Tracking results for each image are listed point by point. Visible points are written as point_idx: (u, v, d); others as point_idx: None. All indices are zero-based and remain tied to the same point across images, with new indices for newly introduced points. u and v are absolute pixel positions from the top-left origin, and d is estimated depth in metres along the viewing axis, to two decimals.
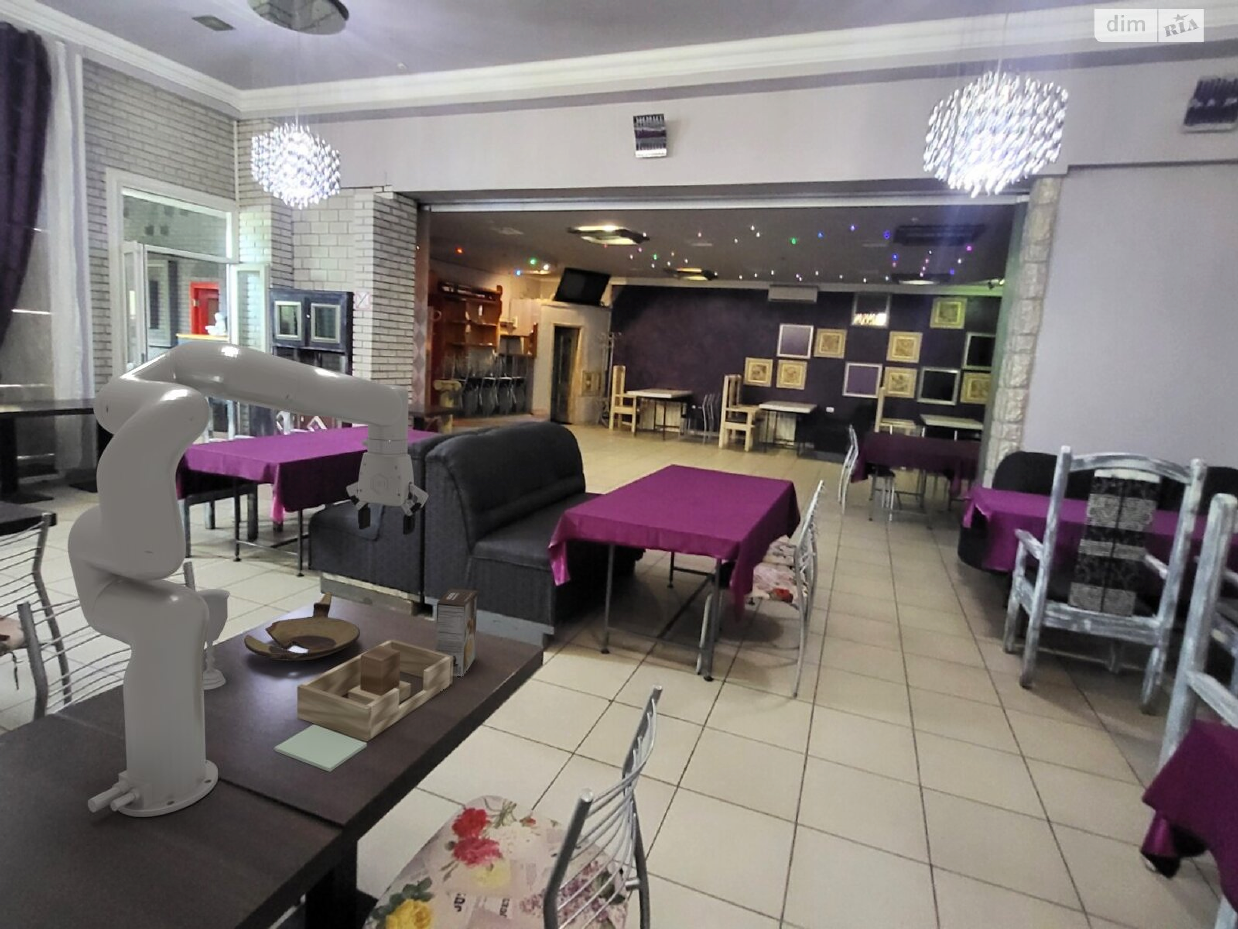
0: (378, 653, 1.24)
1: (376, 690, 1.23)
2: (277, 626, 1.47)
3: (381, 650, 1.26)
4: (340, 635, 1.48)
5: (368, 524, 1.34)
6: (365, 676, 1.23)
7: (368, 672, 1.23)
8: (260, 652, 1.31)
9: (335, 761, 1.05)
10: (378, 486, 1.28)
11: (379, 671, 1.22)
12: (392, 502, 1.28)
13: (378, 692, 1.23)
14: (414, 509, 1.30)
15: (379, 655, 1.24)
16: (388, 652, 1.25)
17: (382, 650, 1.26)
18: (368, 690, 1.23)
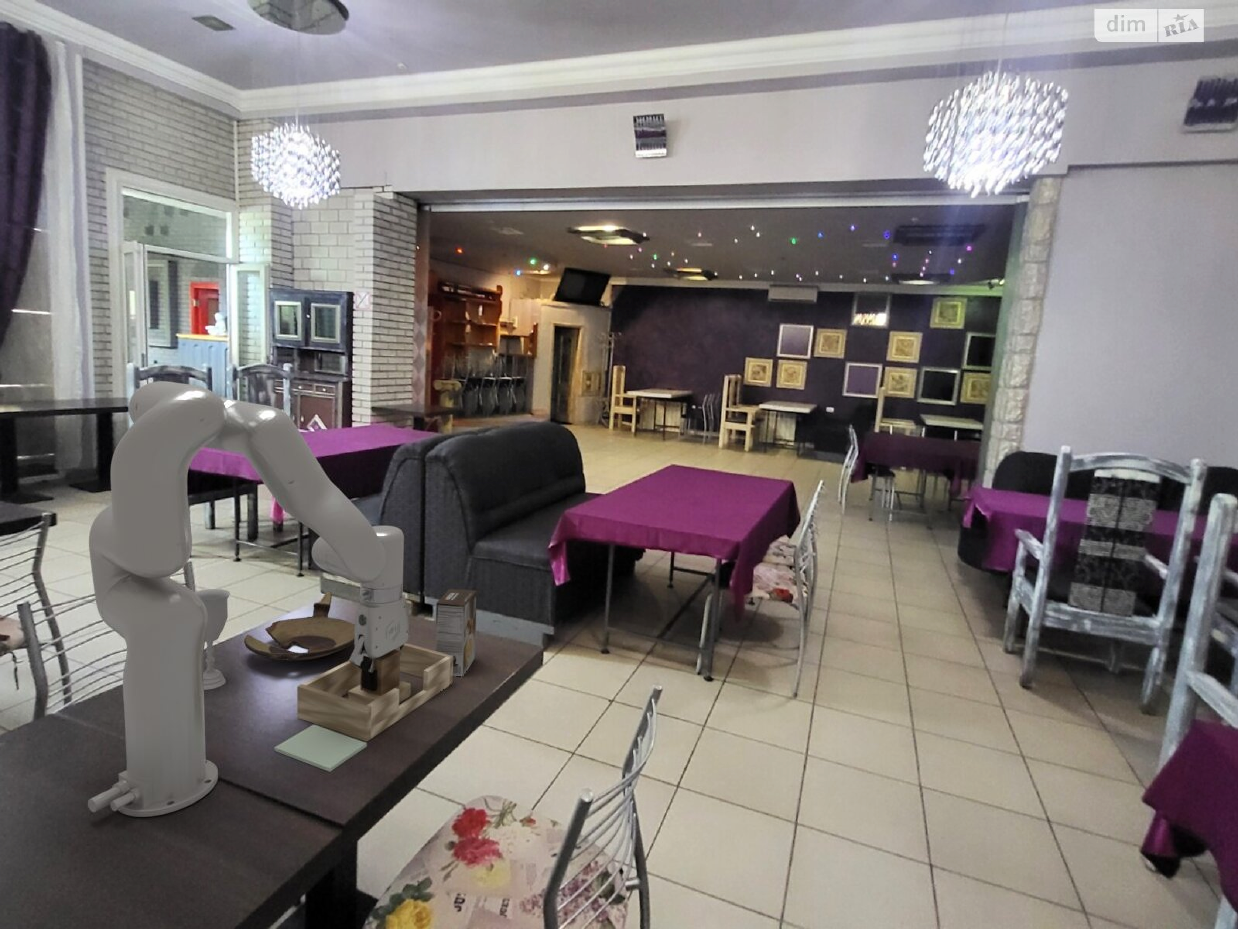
0: None
1: (376, 690, 1.23)
2: (277, 626, 1.47)
3: None
4: (340, 635, 1.48)
5: None
6: None
7: None
8: (260, 652, 1.31)
9: (335, 761, 1.05)
10: (391, 633, 1.23)
11: (379, 671, 1.22)
12: (402, 642, 1.26)
13: (378, 692, 1.23)
14: (399, 649, 1.28)
15: None
16: None
17: None
18: (368, 690, 1.23)
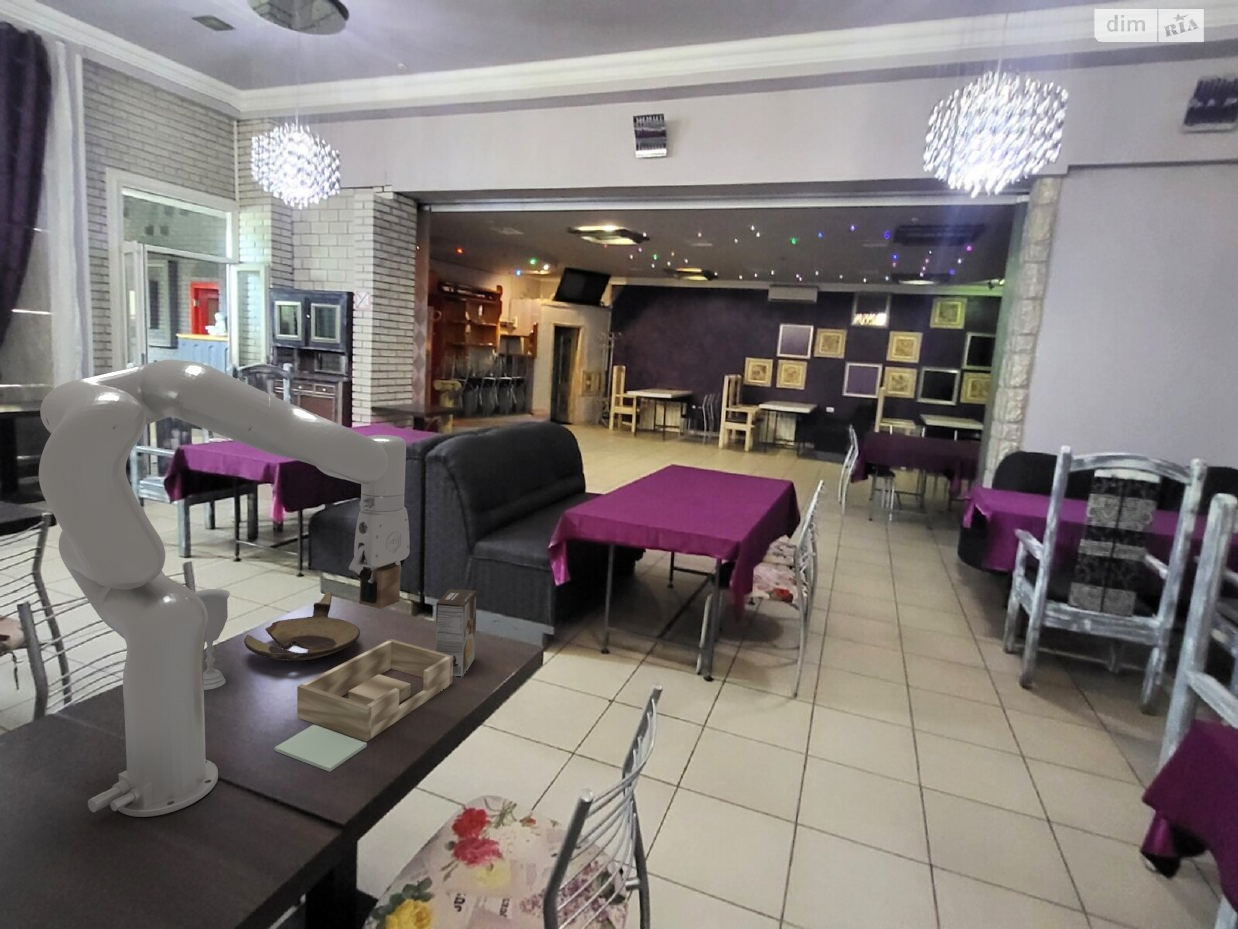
0: None
1: (376, 603, 1.20)
2: (277, 626, 1.47)
3: None
4: (340, 635, 1.48)
5: None
6: None
7: None
8: (260, 652, 1.31)
9: (335, 761, 1.05)
10: (392, 545, 1.20)
11: (379, 583, 1.19)
12: (403, 556, 1.23)
13: (377, 605, 1.20)
14: (400, 565, 1.26)
15: None
16: (388, 566, 1.22)
17: None
18: (367, 603, 1.21)
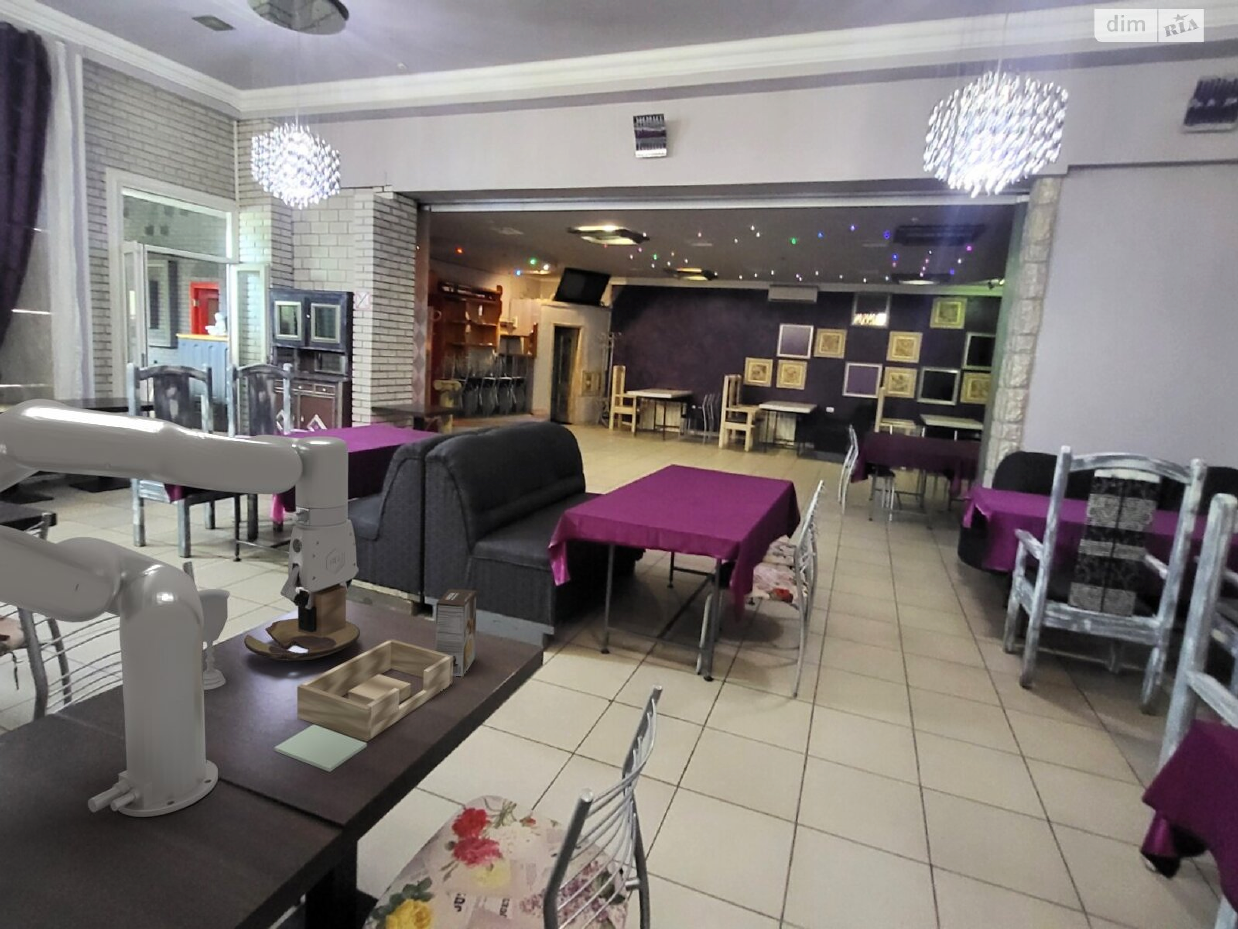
0: None
1: (316, 631, 1.03)
2: (277, 626, 1.47)
3: None
4: (340, 635, 1.48)
5: None
6: None
7: None
8: (260, 652, 1.31)
9: (335, 761, 1.05)
10: (333, 564, 1.03)
11: (319, 608, 1.02)
12: (348, 576, 1.07)
13: (318, 633, 1.03)
14: (346, 586, 1.09)
15: None
16: (331, 587, 1.06)
17: None
18: (307, 631, 1.04)
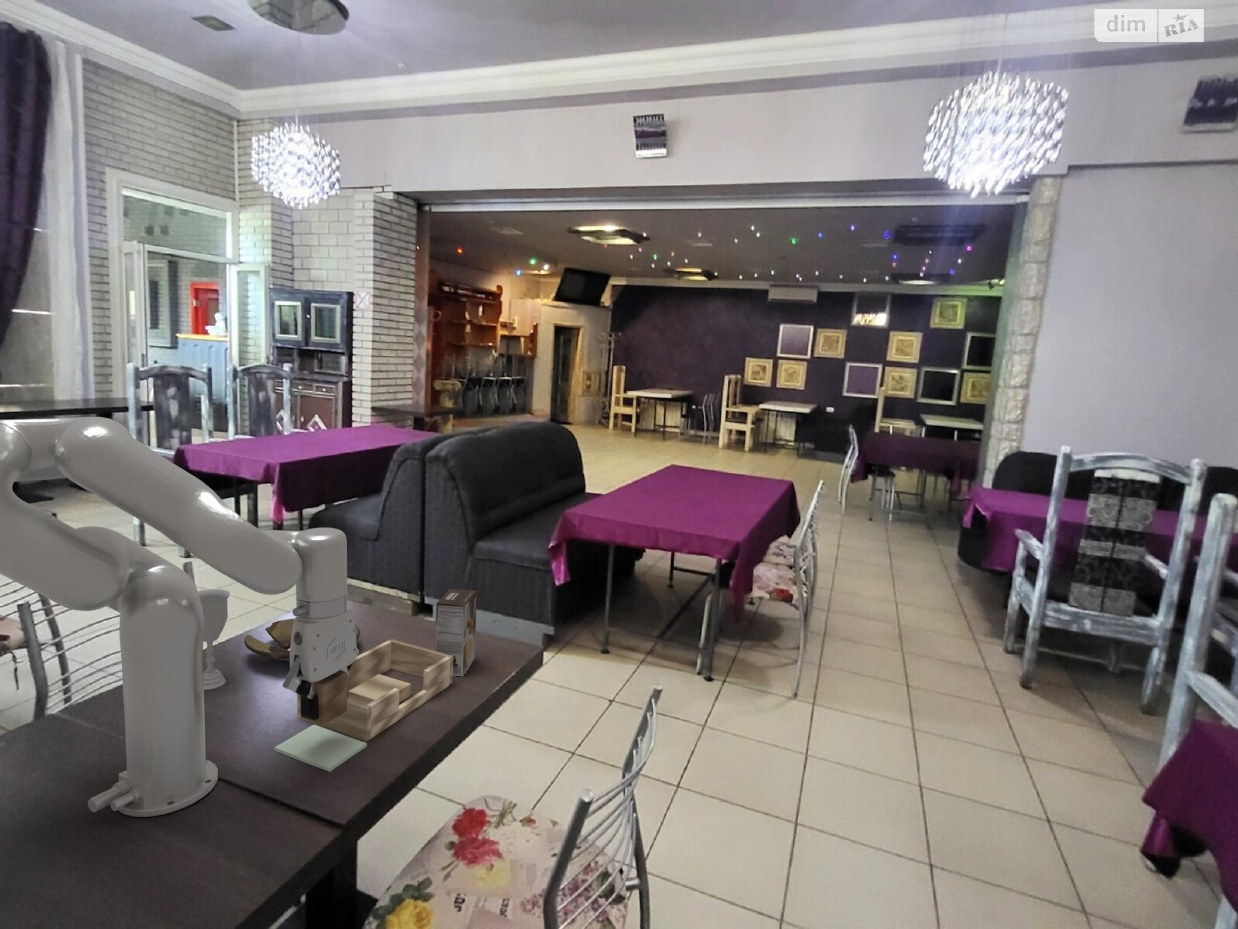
0: None
1: (318, 718, 1.06)
2: (277, 626, 1.47)
3: None
4: None
5: None
6: None
7: None
8: (260, 652, 1.31)
9: (335, 761, 1.05)
10: (334, 653, 1.06)
11: (320, 697, 1.05)
12: (349, 662, 1.09)
13: (320, 721, 1.05)
14: (347, 669, 1.11)
15: None
16: (332, 674, 1.08)
17: None
18: None
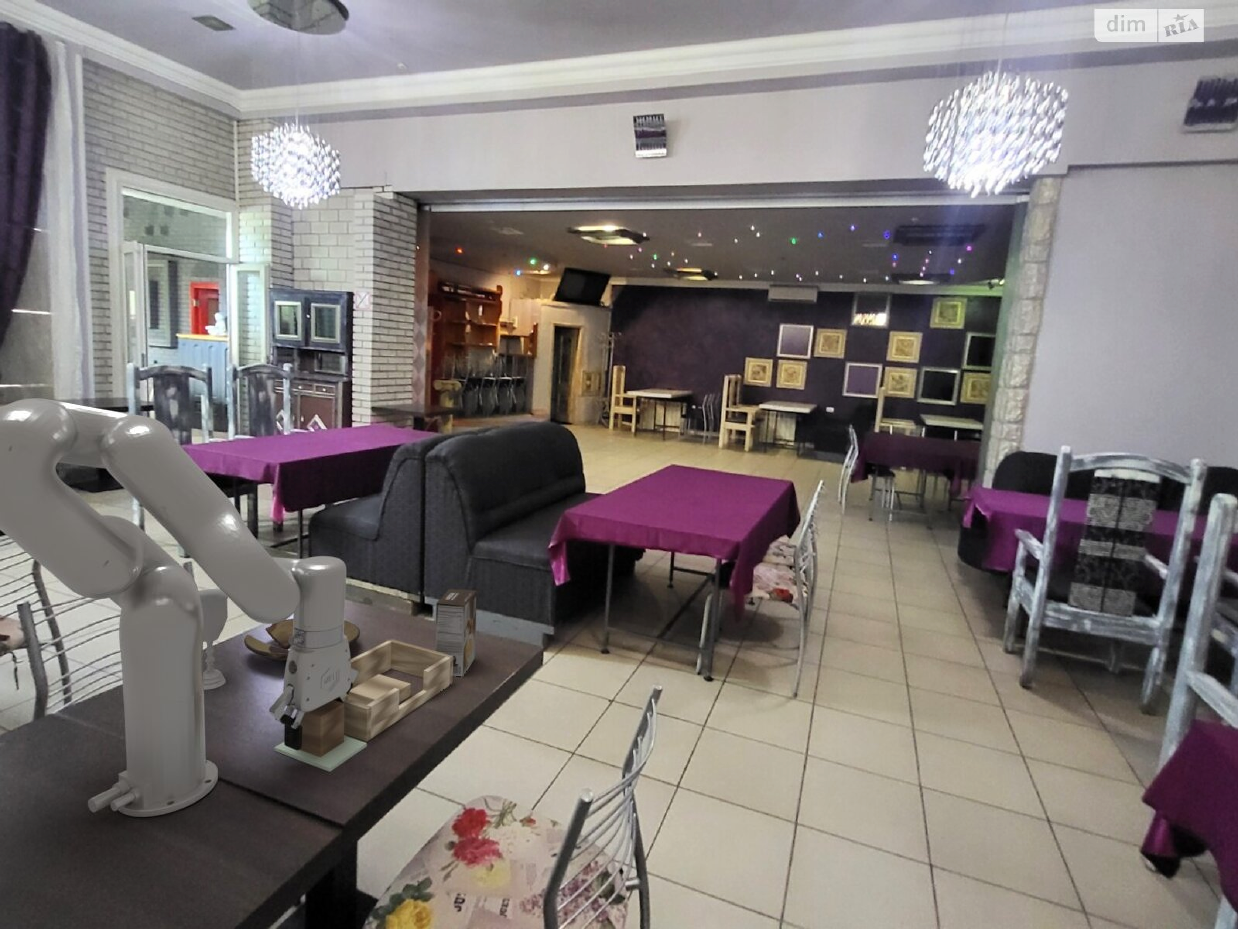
0: None
1: (315, 750, 1.06)
2: (277, 626, 1.47)
3: None
4: None
5: None
6: (302, 734, 1.07)
7: (306, 729, 1.06)
8: (260, 652, 1.31)
9: (335, 761, 1.05)
10: (328, 682, 1.05)
11: (318, 729, 1.05)
12: (342, 692, 1.08)
13: (317, 753, 1.06)
14: (347, 692, 1.12)
15: (318, 709, 1.07)
16: (330, 705, 1.08)
17: None
18: (306, 750, 1.07)
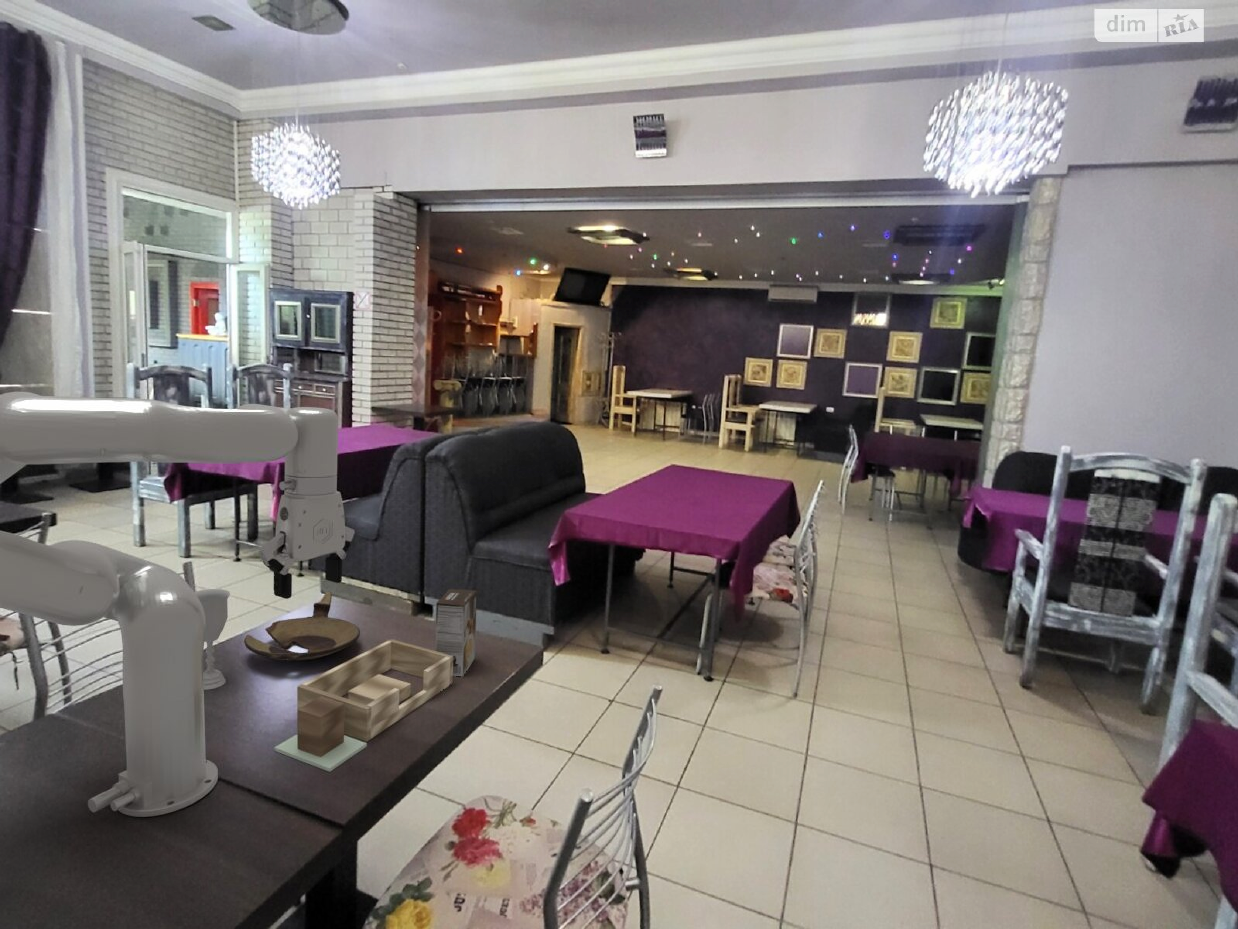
0: (318, 707, 1.08)
1: (315, 750, 1.06)
2: (277, 626, 1.47)
3: (322, 703, 1.09)
4: (340, 635, 1.48)
5: None
6: (302, 734, 1.07)
7: (306, 729, 1.06)
8: (260, 652, 1.31)
9: (335, 761, 1.05)
10: (321, 534, 1.04)
11: (318, 729, 1.05)
12: (336, 548, 1.07)
13: (317, 753, 1.06)
14: (345, 550, 1.11)
15: (318, 709, 1.07)
16: (330, 705, 1.08)
17: (323, 702, 1.09)
18: (306, 750, 1.07)
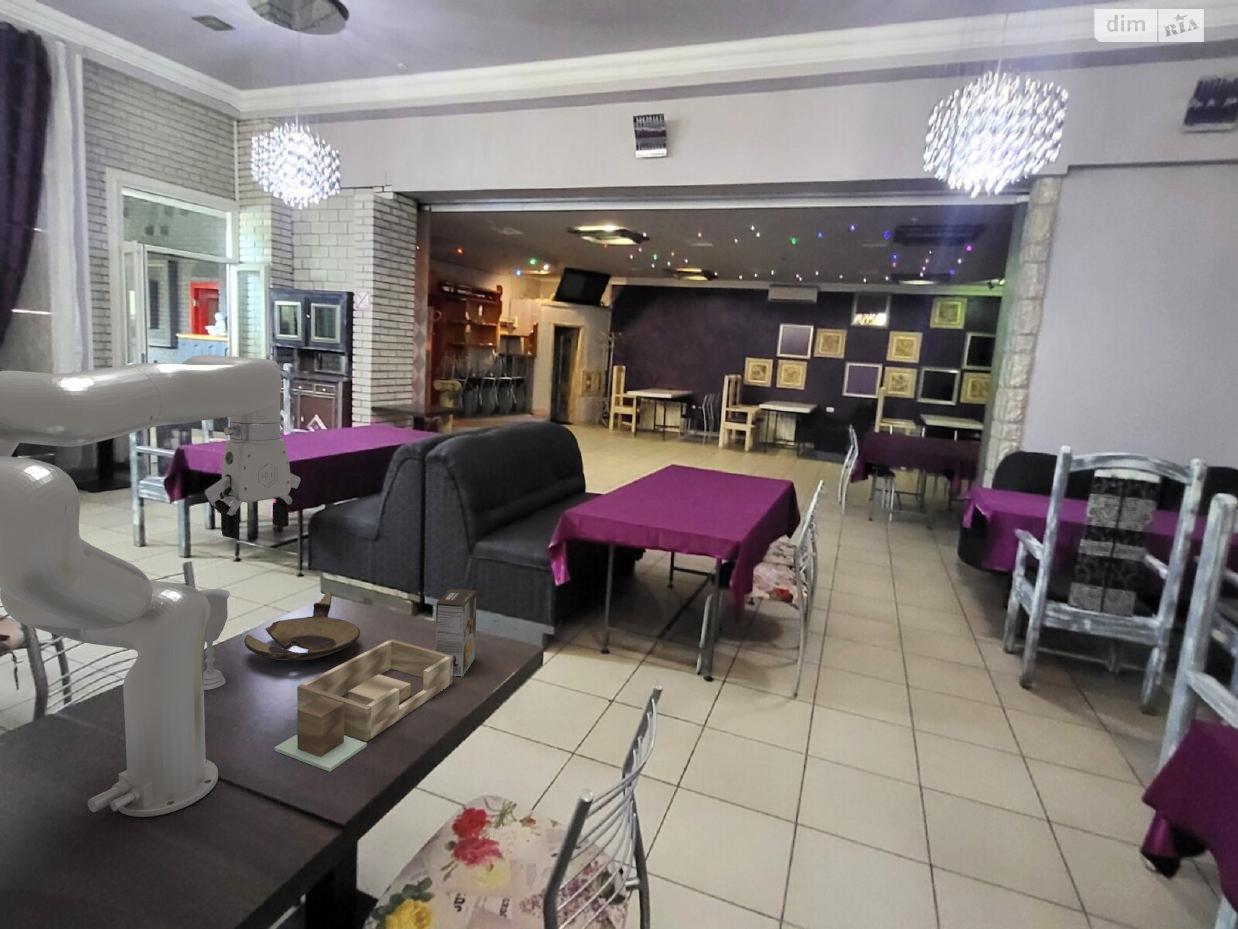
0: (318, 707, 1.08)
1: (315, 750, 1.06)
2: (277, 626, 1.47)
3: (322, 703, 1.09)
4: (340, 635, 1.48)
5: None
6: (302, 734, 1.07)
7: (306, 729, 1.06)
8: (260, 652, 1.31)
9: (335, 761, 1.05)
10: (266, 478, 1.10)
11: (318, 729, 1.05)
12: (282, 492, 1.13)
13: (317, 753, 1.06)
14: (291, 496, 1.17)
15: (318, 709, 1.07)
16: (330, 705, 1.08)
17: (323, 702, 1.09)
18: (306, 750, 1.07)
